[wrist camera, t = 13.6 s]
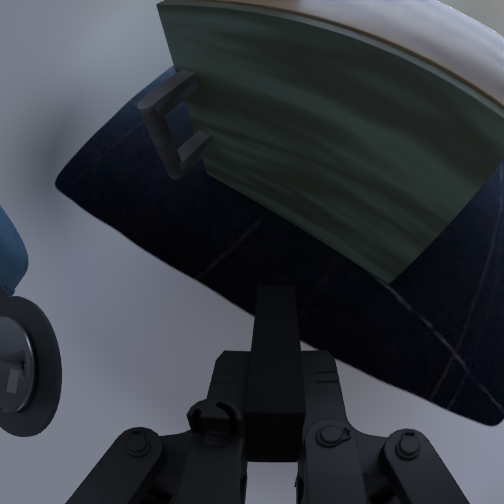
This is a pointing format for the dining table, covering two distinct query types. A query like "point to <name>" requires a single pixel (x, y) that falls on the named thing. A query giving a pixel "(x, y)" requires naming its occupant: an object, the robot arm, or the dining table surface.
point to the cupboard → (414, 34)
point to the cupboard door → (324, 128)
